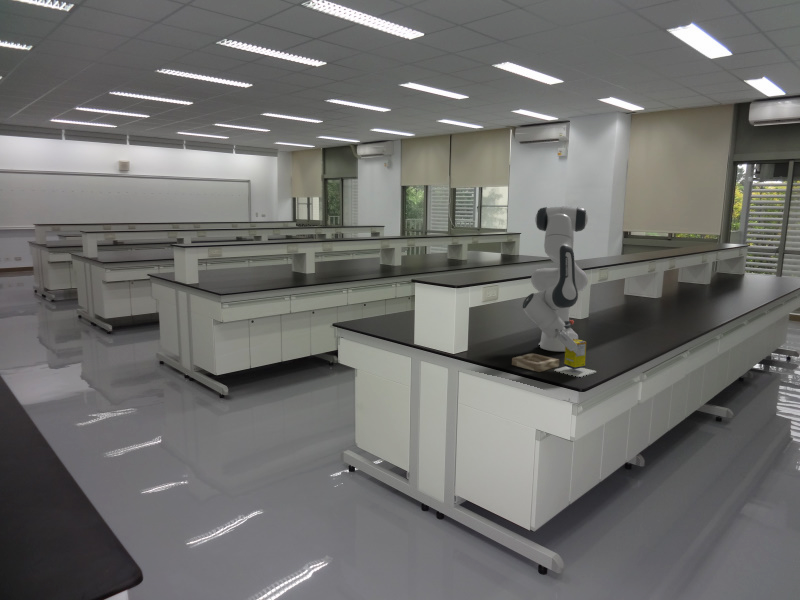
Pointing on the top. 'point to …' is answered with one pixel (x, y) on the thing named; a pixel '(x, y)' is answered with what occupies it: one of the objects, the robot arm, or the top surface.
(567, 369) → the grey pad
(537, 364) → the pocket holder
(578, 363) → the supplement box
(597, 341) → the top surface
